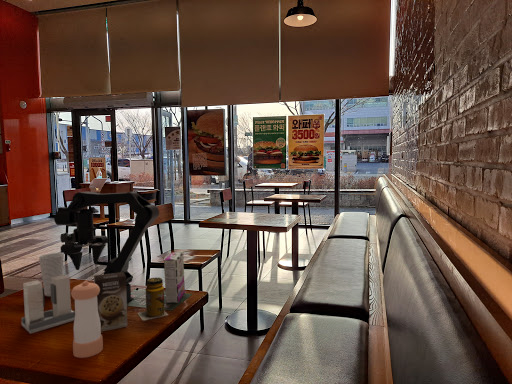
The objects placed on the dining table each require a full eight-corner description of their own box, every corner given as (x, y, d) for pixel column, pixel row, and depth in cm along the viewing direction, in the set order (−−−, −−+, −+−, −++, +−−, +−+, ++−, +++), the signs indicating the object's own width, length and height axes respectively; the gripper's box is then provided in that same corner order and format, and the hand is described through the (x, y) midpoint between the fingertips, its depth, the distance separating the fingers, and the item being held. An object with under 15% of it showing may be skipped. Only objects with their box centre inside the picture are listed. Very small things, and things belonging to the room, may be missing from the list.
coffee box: (96, 333, 107) (94, 280, 106) (95, 325, 113) (92, 275, 112) (128, 326, 111) (126, 276, 110) (125, 319, 117) (123, 270, 116)
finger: (66, 312, 121) (64, 274, 120) (71, 315, 118) (69, 277, 117) (51, 316, 118) (49, 277, 117) (56, 320, 114) (54, 280, 114)
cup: (47, 290, 146) (45, 253, 145) (69, 289, 147) (67, 252, 146) (36, 298, 137) (34, 258, 136) (60, 297, 138) (58, 257, 137)
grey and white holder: (70, 311, 124) (68, 272, 123) (80, 318, 118) (78, 277, 117) (21, 325, 113) (19, 282, 112) (30, 333, 107) (27, 288, 106)
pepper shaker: (97, 357, 93) (94, 285, 92) (68, 358, 93) (64, 286, 91) (106, 343, 100) (103, 277, 99) (79, 345, 100) (76, 277, 99)
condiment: (168, 315, 120) (167, 280, 119) (143, 321, 115) (142, 285, 114) (161, 308, 126) (160, 275, 125) (137, 313, 121) (136, 279, 121)
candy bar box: (172, 292, 142) (171, 252, 141) (185, 292, 142) (184, 252, 141) (164, 303, 130) (163, 259, 129) (178, 303, 130) (177, 259, 129)
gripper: (84, 221, 144) (86, 259, 145) (46, 228, 126) (48, 272, 127) (108, 222, 141) (110, 260, 142) (73, 229, 123) (75, 274, 124)
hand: (86, 266), depth 134 cm, fingers open, 9 cm apart
